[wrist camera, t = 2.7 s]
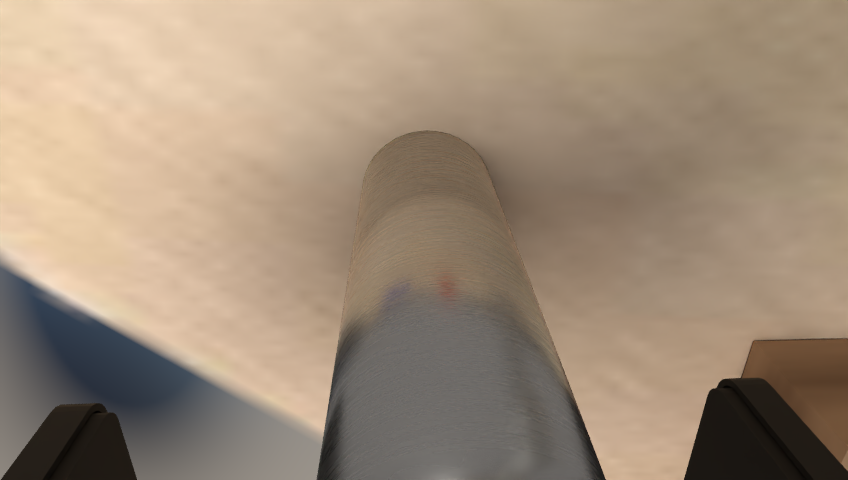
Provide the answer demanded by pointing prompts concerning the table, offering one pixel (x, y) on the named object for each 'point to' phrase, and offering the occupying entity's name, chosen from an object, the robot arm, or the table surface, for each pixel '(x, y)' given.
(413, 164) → the peg
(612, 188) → the table surface
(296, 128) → the table surface
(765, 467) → the robot arm
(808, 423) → the socket block
